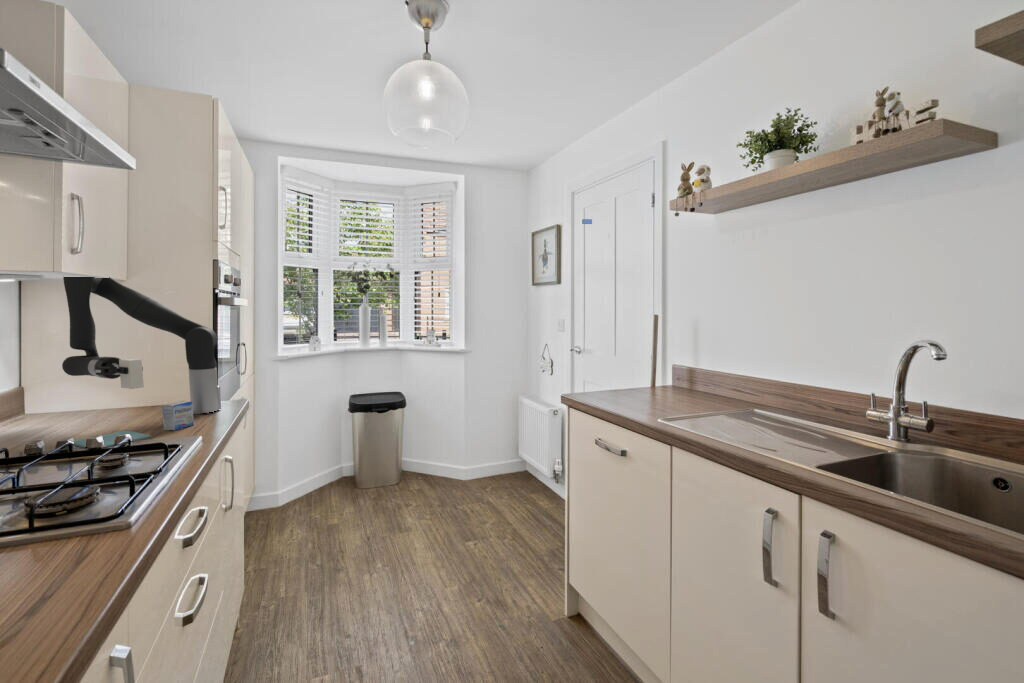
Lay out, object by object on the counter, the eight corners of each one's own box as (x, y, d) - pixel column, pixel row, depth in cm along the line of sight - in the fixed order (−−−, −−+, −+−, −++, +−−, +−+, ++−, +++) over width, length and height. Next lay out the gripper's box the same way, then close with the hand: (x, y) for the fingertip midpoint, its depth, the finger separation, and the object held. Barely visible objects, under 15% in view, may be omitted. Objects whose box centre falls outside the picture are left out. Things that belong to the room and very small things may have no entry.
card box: (132, 385, 167) (130, 358, 166) (143, 387, 164) (141, 359, 163) (121, 387, 164) (118, 359, 163) (132, 388, 161) (129, 360, 160)
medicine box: (174, 431, 161) (172, 405, 161) (163, 430, 162) (161, 405, 162) (194, 425, 169) (192, 400, 168) (183, 424, 170) (182, 400, 169)
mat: (126, 432, 160) (126, 430, 160) (151, 437, 154) (151, 435, 154) (69, 444, 146) (69, 442, 146) (94, 450, 140) (94, 448, 140)
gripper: (80, 359, 163) (108, 361, 156) (128, 354, 176) (156, 356, 169) (82, 381, 164) (110, 384, 157) (130, 375, 177) (158, 377, 169)
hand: (134, 369), depth 163 cm, fingers closed on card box, 3 cm apart
